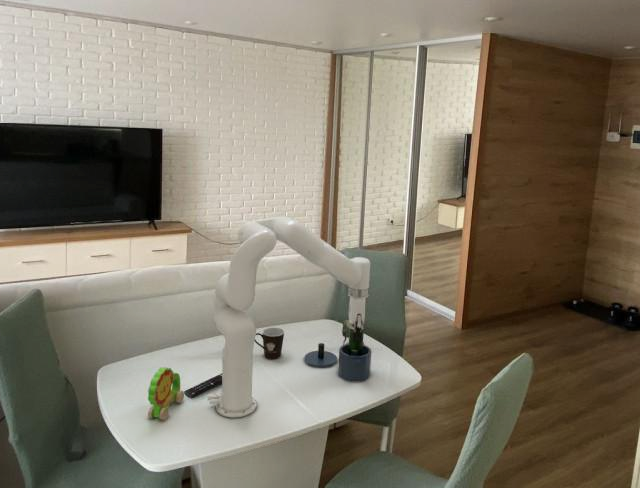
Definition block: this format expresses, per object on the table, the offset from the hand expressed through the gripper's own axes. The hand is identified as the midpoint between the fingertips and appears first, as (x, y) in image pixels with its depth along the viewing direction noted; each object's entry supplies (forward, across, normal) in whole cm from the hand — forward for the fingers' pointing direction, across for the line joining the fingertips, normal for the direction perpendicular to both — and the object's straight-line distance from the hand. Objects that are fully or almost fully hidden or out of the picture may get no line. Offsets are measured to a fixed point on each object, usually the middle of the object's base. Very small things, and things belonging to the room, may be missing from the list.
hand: (355, 337), depth 194 cm
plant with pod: (+14, -23, +2) cm, 27 cm away
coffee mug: (+14, -16, -32) cm, 39 cm away
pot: (+14, 0, 0) cm, 14 cm away
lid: (+14, -11, -12) cm, 21 cm away
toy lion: (+14, +24, -63) cm, 69 cm away
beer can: (+7, 0, 0) cm, 7 cm away
